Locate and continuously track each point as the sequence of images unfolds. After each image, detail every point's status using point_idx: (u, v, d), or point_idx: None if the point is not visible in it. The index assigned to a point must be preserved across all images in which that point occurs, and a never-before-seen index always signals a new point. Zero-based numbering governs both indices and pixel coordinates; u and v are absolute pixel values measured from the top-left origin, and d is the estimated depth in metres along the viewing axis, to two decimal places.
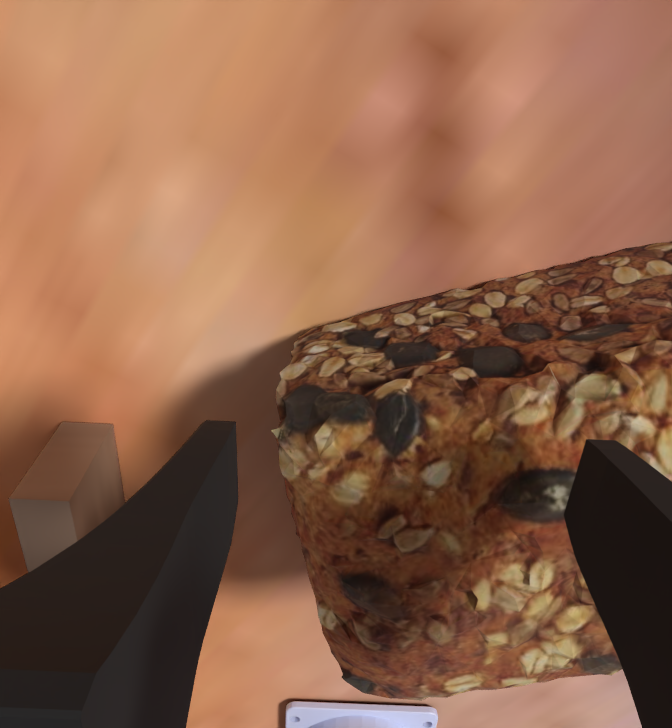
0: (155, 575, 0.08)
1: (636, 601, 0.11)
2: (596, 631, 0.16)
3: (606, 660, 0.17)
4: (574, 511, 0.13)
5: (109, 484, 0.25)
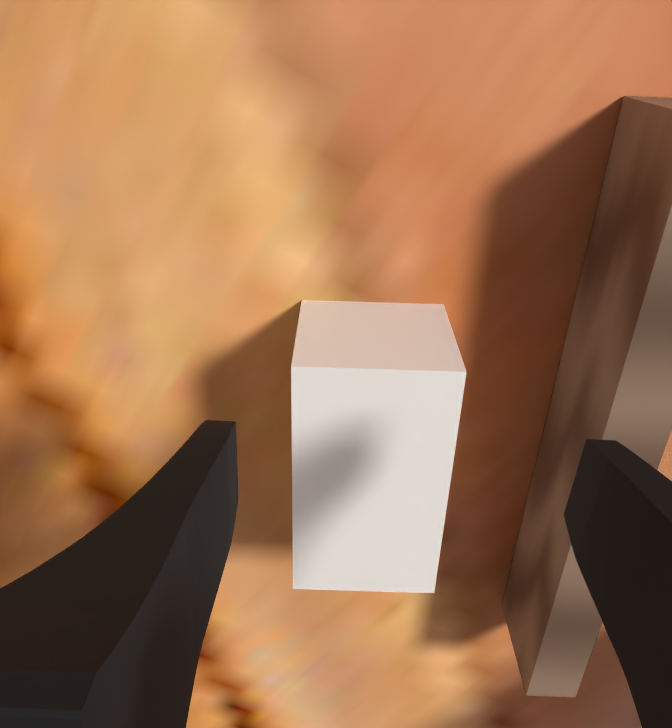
0: (155, 575, 0.08)
1: (636, 601, 0.11)
2: None
3: None
4: (574, 511, 0.13)
5: None
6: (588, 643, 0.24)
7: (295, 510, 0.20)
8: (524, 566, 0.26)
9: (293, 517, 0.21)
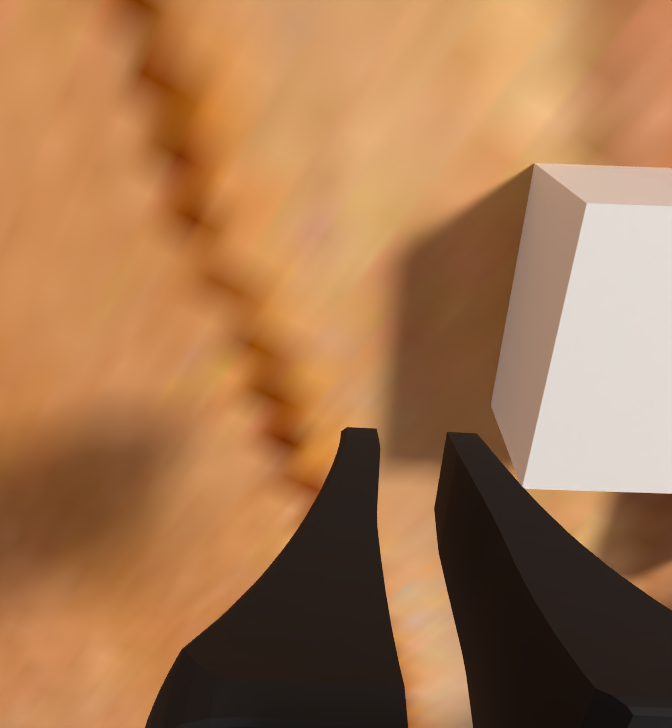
0: (382, 585, 0.08)
1: (471, 594, 0.11)
2: None
3: None
4: (439, 505, 0.13)
5: None
6: None
7: (547, 390, 0.18)
8: None
9: (543, 399, 0.18)
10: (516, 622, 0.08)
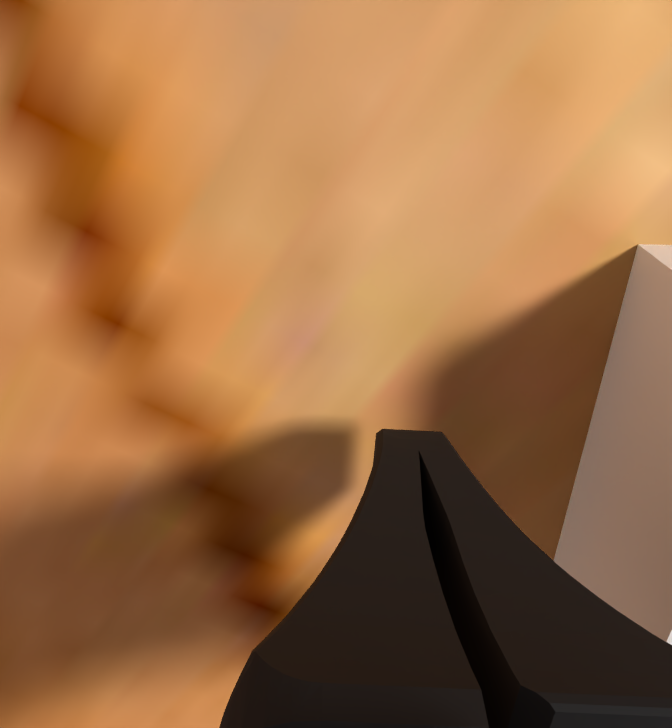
0: (438, 588, 0.08)
1: None
2: None
3: None
4: None
5: None
6: None
7: None
8: None
9: (669, 639, 0.11)
10: (463, 620, 0.08)
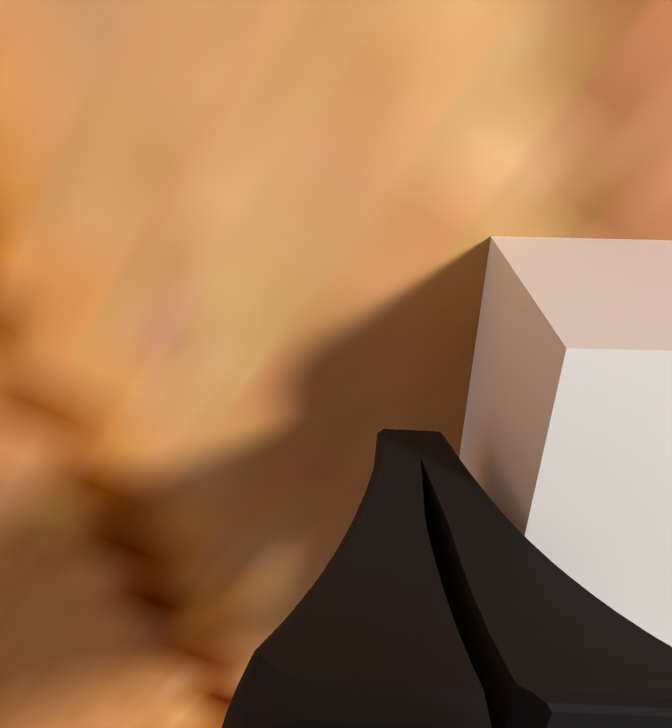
0: (440, 588, 0.08)
1: None
2: None
3: None
4: None
5: None
6: None
7: None
8: None
9: None
10: (460, 619, 0.08)
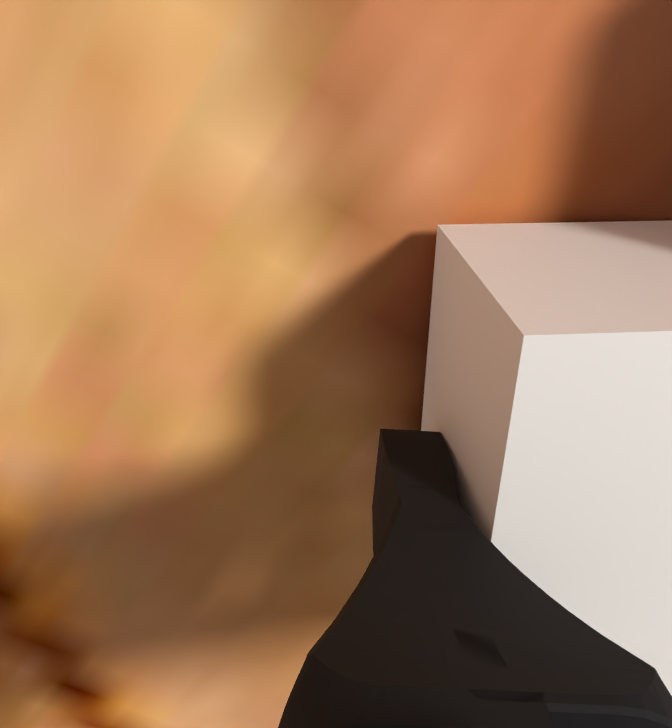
0: (484, 590, 0.08)
1: None
2: None
3: None
4: (375, 502, 0.13)
5: None
6: None
7: None
8: None
9: None
10: None
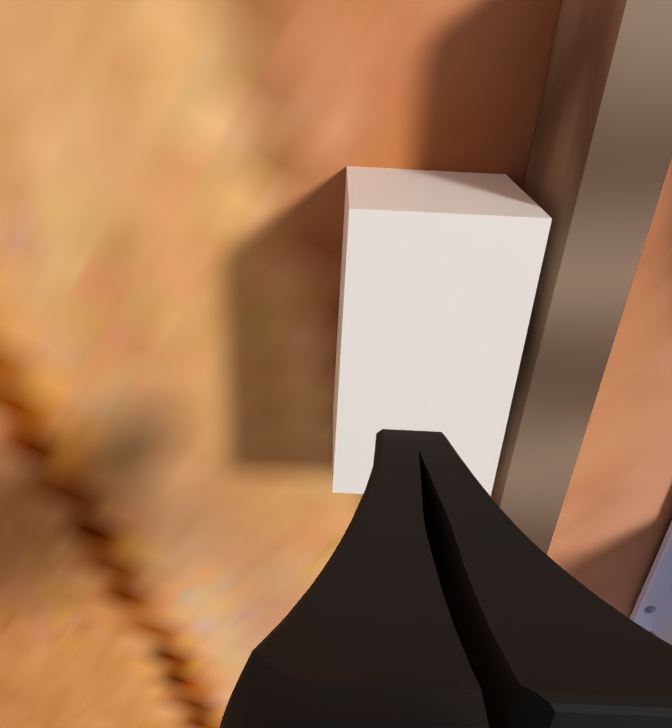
0: (438, 588, 0.08)
1: None
2: None
3: None
4: None
5: None
6: None
7: (341, 394, 0.18)
8: None
9: (338, 403, 0.18)
10: (463, 620, 0.08)
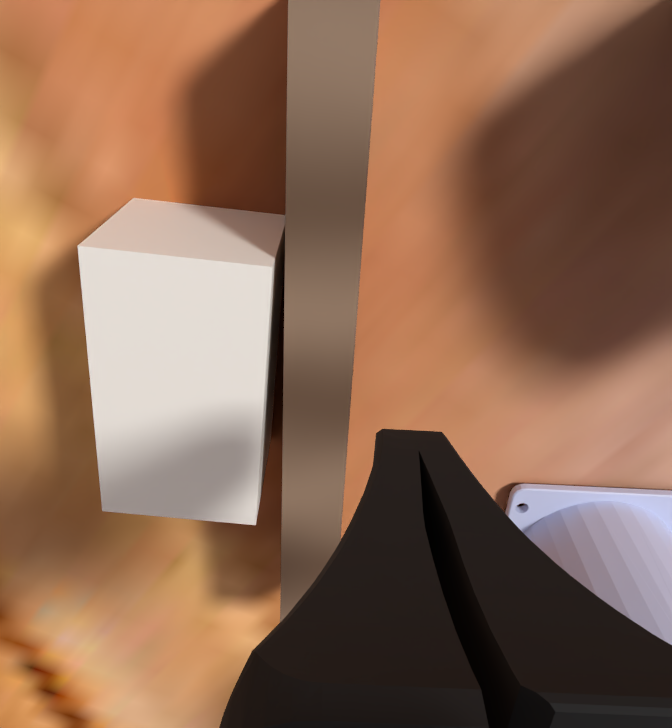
0: (438, 588, 0.08)
1: None
2: None
3: None
4: None
5: None
6: None
7: (97, 419, 0.19)
8: None
9: (95, 427, 0.19)
10: (463, 620, 0.08)
